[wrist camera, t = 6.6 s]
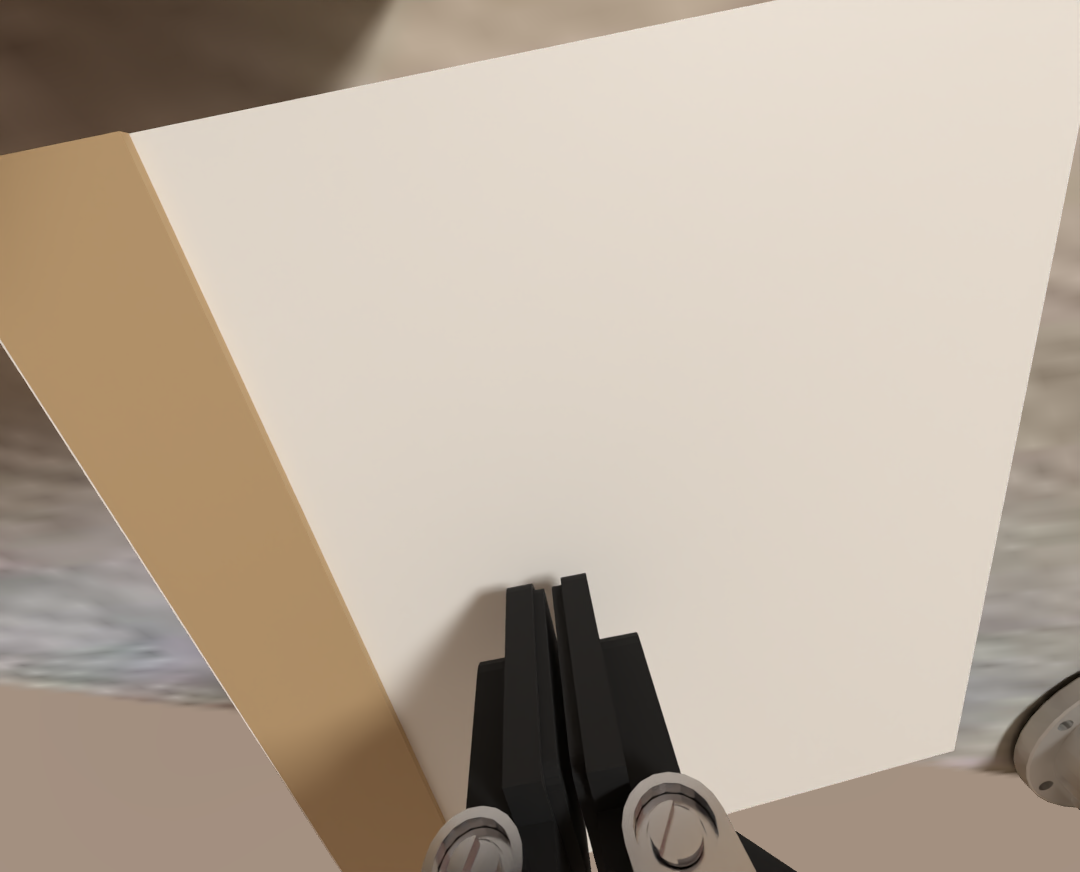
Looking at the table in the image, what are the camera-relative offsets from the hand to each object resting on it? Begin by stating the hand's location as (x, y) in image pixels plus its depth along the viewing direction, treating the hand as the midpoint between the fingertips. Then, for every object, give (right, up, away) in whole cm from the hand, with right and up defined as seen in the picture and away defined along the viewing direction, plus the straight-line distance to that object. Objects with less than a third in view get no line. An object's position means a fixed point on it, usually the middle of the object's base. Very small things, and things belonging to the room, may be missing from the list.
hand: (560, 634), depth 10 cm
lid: (+1, +1, +2) cm, 3 cm away
